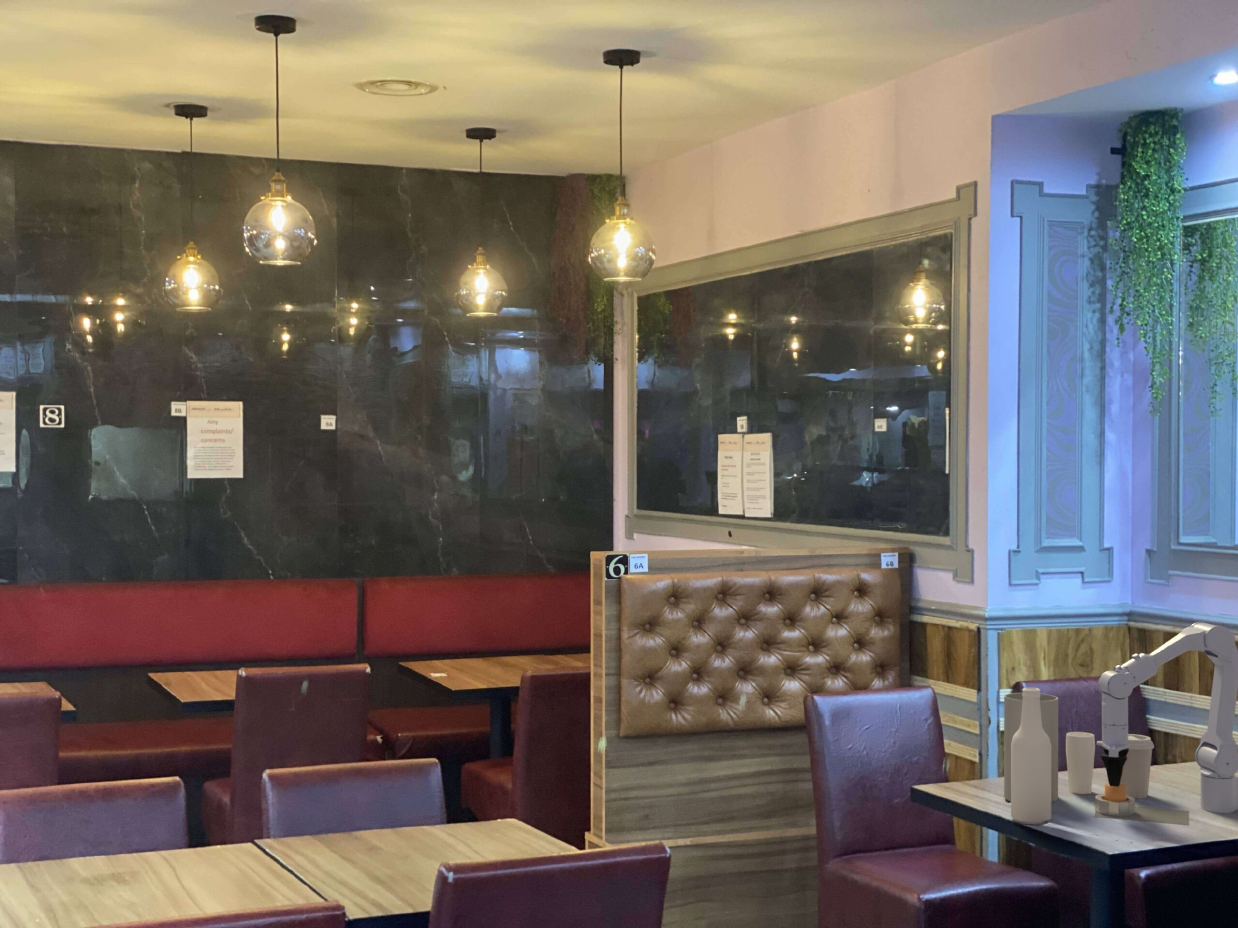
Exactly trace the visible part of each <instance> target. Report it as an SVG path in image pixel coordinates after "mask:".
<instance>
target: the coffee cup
mask: <svg viewBox="0 0 1238 928" xmlns="http://www.w3.org/2000/svg"><path fill="white" fill-rule="evenodd" d="M1128 743H1129V747H1128V748H1129V752H1128V753H1127V755H1126V757H1127V760H1126V762H1125V764H1124V766H1123V771H1122V777H1121V781H1120V784H1124V785H1126V786H1127V796H1129V797H1132V798H1134V799H1145V798H1147V797H1149V785H1150V774H1151V765H1152V764H1151V763H1152V753H1153V749H1154V748H1155V744H1154V743H1153V741H1152V739H1151V737H1150V736H1148V735H1147V736H1146V735H1144V734H1143V735H1142V734H1134V733H1132V734H1131V733H1128Z"/></svg>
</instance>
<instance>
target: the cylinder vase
mask: <svg viewBox="0 0 1238 928" xmlns="http://www.w3.org/2000/svg"><path fill="white" fill-rule="evenodd" d="M1022 694H1023V692H1012V693H1006V694H1004V696H1003V697H1004V699H1003V701H1004V702H1003V706H1004V707H1003V708H1004V709H1003V711H1004V712H1003V717H1004V719H1003V725H1004V726H1003V741H1004V742H1003V750H1004V751H1003V759H1004V760H1003V761H1004V762H1003V767H1004V768H1003V769H1004V770H1003V775H1004V776H1003V785H1004V787H1003V797H1004V798H1005V799H1006V801H1008V802H1009V803H1011V743H1012V739H1013V736H1014V734H1015V733H1016V732H1017V731H1018V730H1019V728H1020V725H1021V714H1022V702H1023V696H1022ZM1040 707H1041V720H1042V727H1043V730H1044V732H1045V733H1046V734H1047V735H1048V737H1049V738H1050V742H1051V803H1052V802H1056V801H1058V800H1059V697H1057V696H1055V695H1052V694H1046V693H1040Z"/></svg>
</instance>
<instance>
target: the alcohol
mask: <svg viewBox="0 0 1238 928" xmlns="http://www.w3.org/2000/svg"><path fill="white" fill-rule="evenodd" d="M1021 691H1022V693H1023V694H1022V696H1023V702H1022V714H1021V725H1020V728H1019V730H1018V731H1017V732H1016V733H1015V734H1014V736H1013V739H1012V743H1011V802H1010V810H1011V811H1010V816H1011V818H1012V820H1013V821H1015V822H1016V823H1018V824H1023V825H1030V826H1031V825H1033V826H1034V825H1035V826H1036V825H1037V826H1039V825H1040V826H1041V825H1047V824H1048V823H1049V820H1051V819H1052V802H1051V742H1050V738H1049V737H1048V735H1047V734H1046V733H1045V732H1044V730H1043V727H1042V720H1041V707H1040V694H1041V689H1040V688H1038V687H1024V688H1022V690H1021Z"/></svg>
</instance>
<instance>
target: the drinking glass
mask: <svg viewBox="0 0 1238 928" xmlns="http://www.w3.org/2000/svg"><path fill="white" fill-rule="evenodd" d="M1095 739H1096V738H1095V734H1093V733H1090V732H1083V731H1069V732H1067V733H1066V735H1065V755H1066V756H1065V757H1066V767H1067V779H1068V792H1070V793H1072V794H1077V795H1090V794H1092V792H1093V789H1092V788H1093V776H1094V765H1095V764H1094V763H1095V762H1094V761H1095V752H1096V744H1095V743H1096V742H1095Z"/></svg>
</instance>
